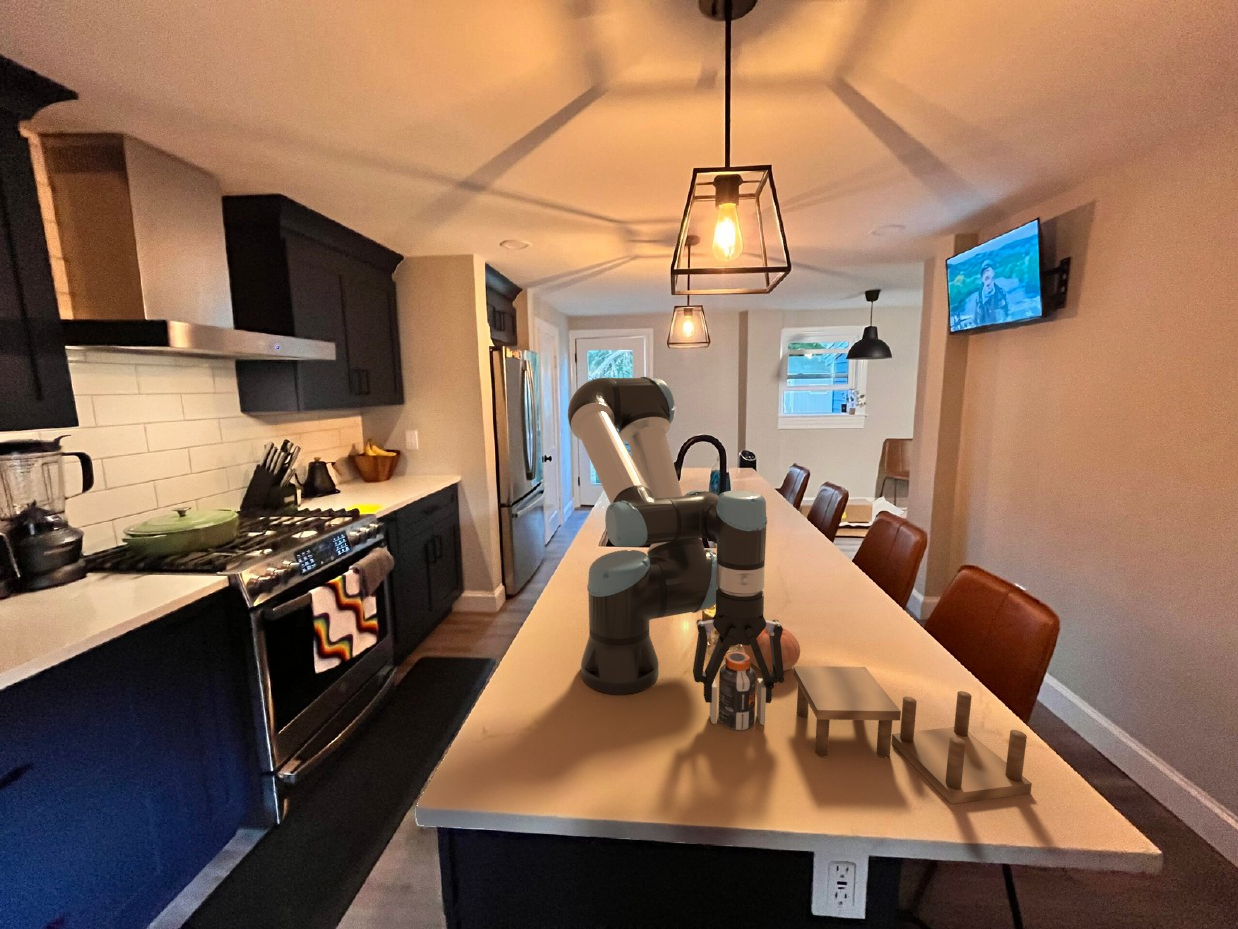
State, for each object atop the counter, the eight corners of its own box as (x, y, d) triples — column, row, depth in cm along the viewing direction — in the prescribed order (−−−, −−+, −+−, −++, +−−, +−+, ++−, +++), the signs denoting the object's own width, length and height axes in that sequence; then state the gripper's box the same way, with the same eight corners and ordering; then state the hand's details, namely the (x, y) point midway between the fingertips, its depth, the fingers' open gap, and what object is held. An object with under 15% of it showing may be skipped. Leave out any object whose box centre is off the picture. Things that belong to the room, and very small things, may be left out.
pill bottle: (755, 733, 82) (757, 668, 81) (718, 729, 84) (719, 664, 82) (753, 711, 88) (755, 649, 87) (718, 707, 89) (719, 646, 88)
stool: (815, 759, 77) (817, 710, 75) (791, 709, 89) (793, 666, 87) (897, 760, 76) (900, 711, 75) (862, 710, 88) (865, 666, 87)
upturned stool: (950, 804, 68) (956, 749, 67) (891, 742, 80) (895, 695, 79) (1030, 793, 70) (1037, 740, 69) (960, 734, 82) (965, 688, 80)
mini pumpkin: (731, 664, 103) (732, 627, 102) (763, 646, 110) (764, 611, 109) (779, 688, 95) (780, 647, 94) (810, 667, 102) (811, 629, 100)
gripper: (678, 597, 79) (678, 733, 82) (811, 597, 78) (804, 734, 82) (675, 579, 86) (674, 704, 90) (796, 579, 86) (790, 705, 89)
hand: (736, 718), depth 86 cm, fingers open, 7 cm apart
